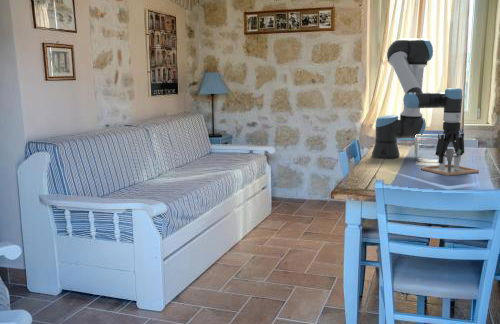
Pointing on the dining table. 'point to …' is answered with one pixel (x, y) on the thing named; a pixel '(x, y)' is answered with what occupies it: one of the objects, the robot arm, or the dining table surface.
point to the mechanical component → (449, 156)
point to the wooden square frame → (450, 172)
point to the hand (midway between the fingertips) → (449, 169)
